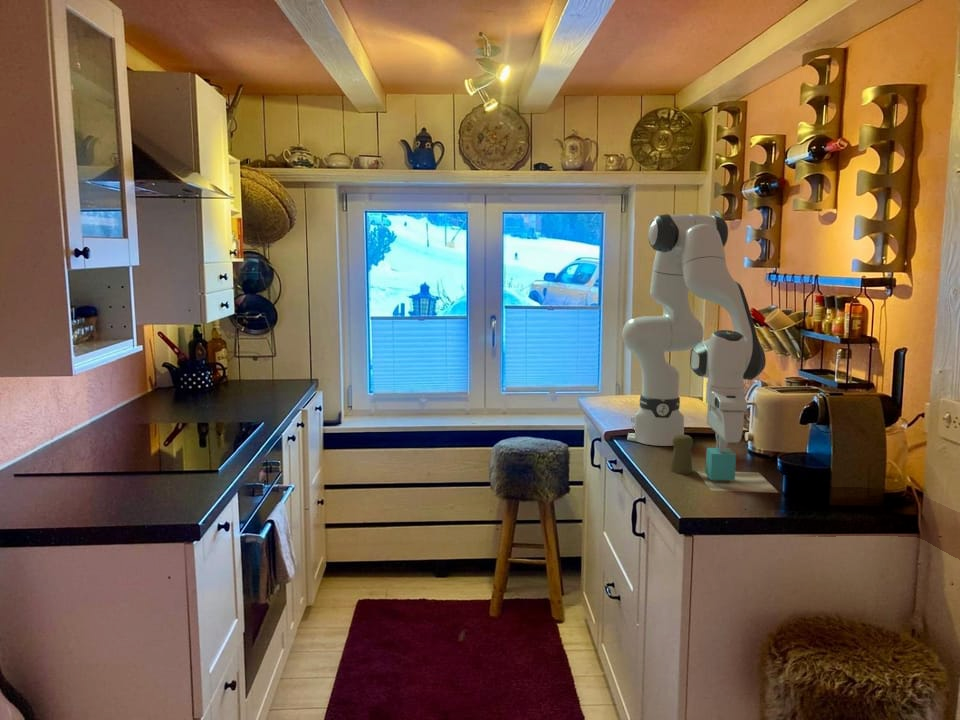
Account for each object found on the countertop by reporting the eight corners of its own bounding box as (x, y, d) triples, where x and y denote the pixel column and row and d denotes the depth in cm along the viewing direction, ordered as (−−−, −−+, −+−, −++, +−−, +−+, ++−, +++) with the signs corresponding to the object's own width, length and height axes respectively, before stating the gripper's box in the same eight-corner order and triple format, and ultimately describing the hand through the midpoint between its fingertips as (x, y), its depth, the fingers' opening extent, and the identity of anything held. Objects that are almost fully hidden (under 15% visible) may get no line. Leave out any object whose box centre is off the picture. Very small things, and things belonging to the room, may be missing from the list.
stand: (696, 476, 192) (697, 444, 190) (758, 478, 191) (760, 446, 189) (710, 496, 176) (712, 462, 175) (778, 498, 175) (781, 464, 174)
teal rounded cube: (705, 472, 186) (706, 447, 185) (728, 473, 186) (730, 448, 185) (710, 479, 181) (712, 454, 180) (734, 480, 180) (736, 454, 179)
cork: (674, 471, 196) (676, 431, 194) (696, 475, 192) (698, 435, 191) (665, 476, 191) (667, 435, 190) (686, 481, 188) (689, 439, 186)
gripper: (702, 388, 191) (699, 440, 193) (721, 404, 170) (718, 462, 172) (726, 389, 190) (723, 440, 192) (749, 405, 170) (745, 462, 172)
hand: (721, 451), depth 182 cm, fingers closed, pressing on teal rounded cube
